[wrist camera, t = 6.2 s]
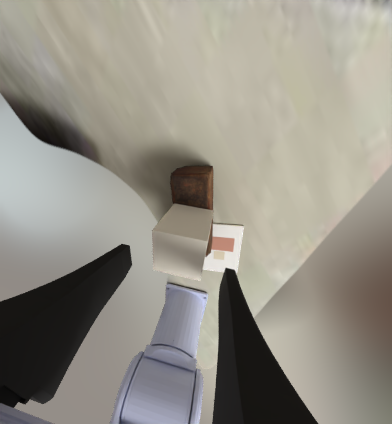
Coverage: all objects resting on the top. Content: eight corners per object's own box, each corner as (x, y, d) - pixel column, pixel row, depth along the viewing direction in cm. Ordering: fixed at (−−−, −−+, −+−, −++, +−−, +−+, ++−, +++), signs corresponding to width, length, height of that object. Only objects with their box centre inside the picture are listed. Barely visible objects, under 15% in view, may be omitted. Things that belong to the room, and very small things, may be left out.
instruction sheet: (236, 273, 24) (237, 274, 24) (200, 268, 25) (199, 269, 25) (243, 225, 20) (243, 226, 20) (199, 222, 21) (199, 223, 21)
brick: (180, 165, 18) (167, 173, 14) (214, 165, 17) (209, 173, 13) (186, 238, 23) (177, 260, 19) (213, 240, 22) (209, 264, 18)
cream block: (207, 243, 17) (200, 281, 12) (172, 235, 17) (153, 270, 13) (213, 210, 15) (207, 241, 10) (174, 203, 15) (152, 229, 11)
